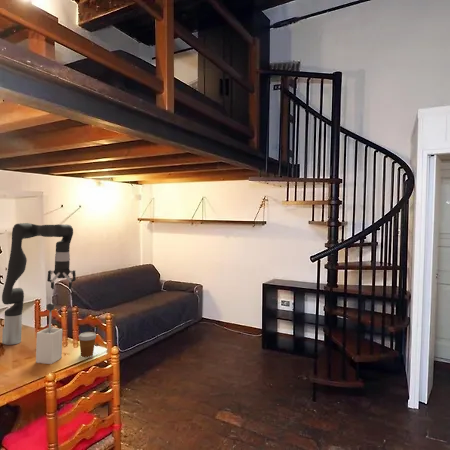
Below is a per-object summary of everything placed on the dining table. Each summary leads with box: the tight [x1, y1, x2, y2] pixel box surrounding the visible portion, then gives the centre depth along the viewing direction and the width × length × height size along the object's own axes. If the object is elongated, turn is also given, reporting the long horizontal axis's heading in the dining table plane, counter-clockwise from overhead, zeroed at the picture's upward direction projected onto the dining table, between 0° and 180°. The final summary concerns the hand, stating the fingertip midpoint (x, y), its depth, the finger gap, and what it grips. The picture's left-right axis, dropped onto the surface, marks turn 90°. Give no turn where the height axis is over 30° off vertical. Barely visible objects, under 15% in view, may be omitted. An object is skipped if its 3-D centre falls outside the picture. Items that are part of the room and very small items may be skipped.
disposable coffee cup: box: [78, 331, 97, 358], centre depth 202 cm, size 10×10×12 cm
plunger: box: [46, 302, 56, 334], centre depth 193 cm, size 7×7×17 cm
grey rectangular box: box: [35, 327, 63, 365], centre depth 195 cm, size 9×12×16 cm
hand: (61, 288), depth 199 cm, fingers open, 8 cm apart
